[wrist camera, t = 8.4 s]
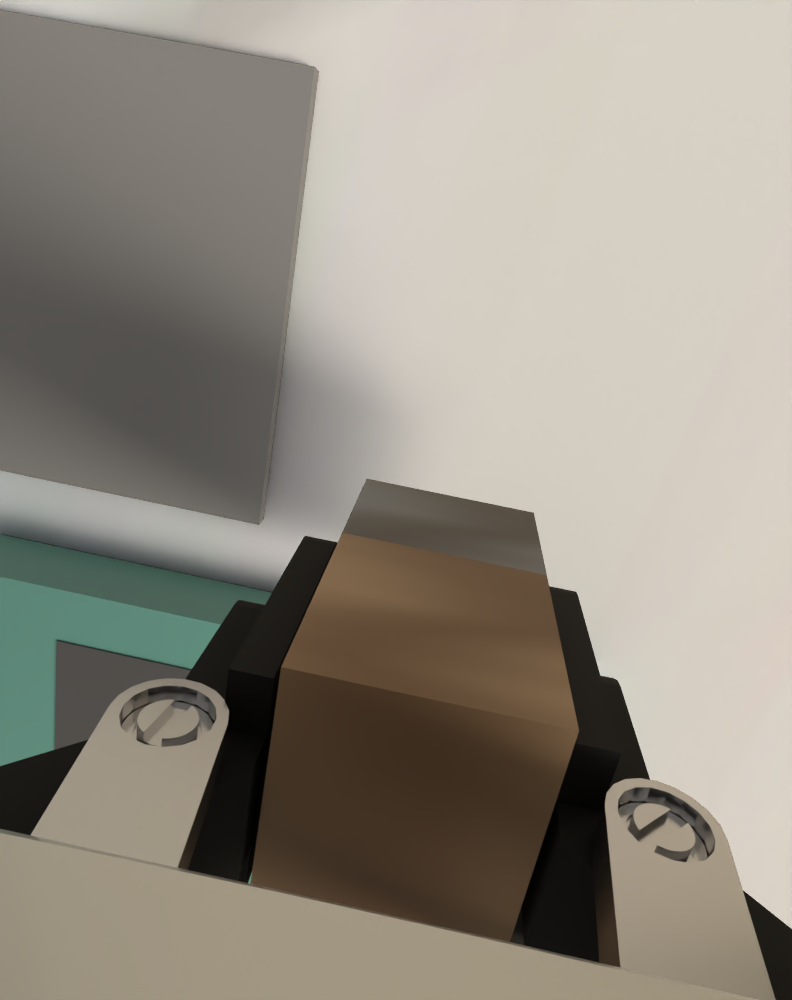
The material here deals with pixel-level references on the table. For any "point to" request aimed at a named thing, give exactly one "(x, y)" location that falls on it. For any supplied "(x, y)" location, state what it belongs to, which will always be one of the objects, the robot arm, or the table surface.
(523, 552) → the brown cardboard box
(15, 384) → the mat
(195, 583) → the switch panel
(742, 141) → the table surface
